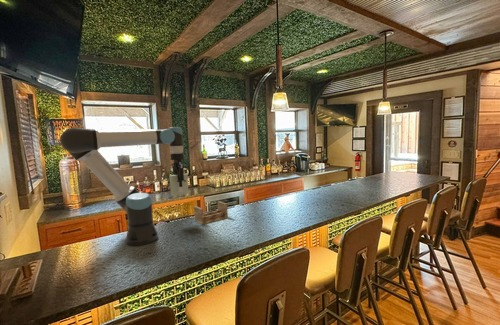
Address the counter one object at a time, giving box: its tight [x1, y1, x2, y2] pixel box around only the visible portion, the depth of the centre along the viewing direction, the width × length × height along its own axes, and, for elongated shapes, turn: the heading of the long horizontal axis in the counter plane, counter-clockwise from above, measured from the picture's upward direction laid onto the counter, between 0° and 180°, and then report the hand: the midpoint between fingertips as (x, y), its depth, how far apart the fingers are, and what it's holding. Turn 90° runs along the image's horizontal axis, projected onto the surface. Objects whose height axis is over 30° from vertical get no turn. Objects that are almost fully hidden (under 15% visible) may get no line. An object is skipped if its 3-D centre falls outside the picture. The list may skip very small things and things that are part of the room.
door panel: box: [169, 173, 189, 197], centre depth 151 cm, size 10×4×12 cm, turn 126°
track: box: [193, 200, 229, 225], centre depth 156 cm, size 18×10×9 cm, turn 126°
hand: (179, 191), depth 152 cm, fingers closed on door panel, 3 cm apart
